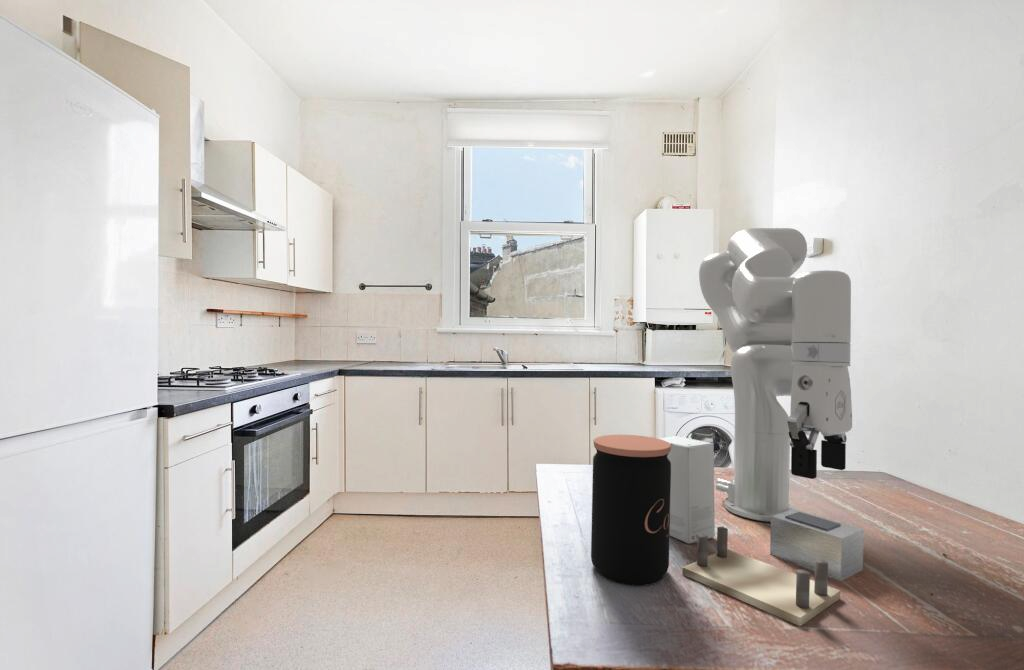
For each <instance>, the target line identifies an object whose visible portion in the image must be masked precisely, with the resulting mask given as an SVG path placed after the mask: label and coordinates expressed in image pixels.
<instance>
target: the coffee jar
mask: <svg viewBox="0 0 1024 670" xmlns="http://www.w3.org/2000/svg"><path fill="white" fill-rule="evenodd" d="M593 448H594V449H595V451H596V453H595V454H594V455H593V458H592V485H591V486H592V490H591V491H592V493H591V499H592V500H591V532H590V533H591V538H590V558H591V562H592V565H593V566H594V567H595V571H597V572H598V574H599V575H600V576H601V577H603V578H604V579H606V580H608V581H611V582H613V583H617V584H621V585H626V586H637V587H638V586H639V587H642V586H651V585H653V584H654V585H655V584H657V583H659V582H660V581H662V580H663V578H664V576H665V575H667V573H668V570H669V567H670V538H671V536H670V491H671V462H670V461H669V459H668V458H667V455H668V454H669V453H670V451H671V444H670V443H669V442H666V441H664V440H661V439H659V438H657V437H652V436H646V435H645V436H644V435H636V434H608V435H602V436H601V435H600V436H597V437H595V438H594V439H593Z"/></svg>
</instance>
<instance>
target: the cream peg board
mask: <svg viewBox="0 0 1024 670" xmlns="http://www.w3.org/2000/svg"><path fill="white" fill-rule="evenodd" d="M716 530H717V531H716V533H717V534H716V552H715V553H713V554H710V555H709V539H708V536H707V535H704V534H699V535H697V542H696V543H697V545H696V546H697V548H696V549H697V550H696V561H694V562H691V563H690V564H687V565H684V566H683V567H682V569H681V570H682V575H683V576H685V577H687V578H689V579H692V580H694V581H696V582H699V583H701V584H704V586H708V587H711V588H712V589H714V590H716V591H719V592H722V593H724V594H725V595H728V596H730V597H733V598H734V599H737V600H740V601H742V602H744V603H746V604H749V605H750V606H753V607H755V608H757V609H760V610H762V611H764V612H767V613H769V614H771V615H773V616H775V617H778V618H781V619H782V620H785V621H787V622H788V623H791V624H794V625H796V626H799V627H801V626H803V625H804V624H806V623H807V622H809V621H811V620H812V619H813V618H815V617H816V616H817V615H819V614H820V613H821V612H823V611H824V610H826V609H827V608H829V607H830V606H832V605H833V604H834V603H836V602H837V601H839V600H840V599H841V590H840V589H837V588H834V587H832V586H829V585H828V580H829V579H828V578H829V576H828V562H826V561H824V560H819V559H817V560H815V571H814V580H813V579H811V573H810V572H809V571H807V570H806V569H805V570H804V569H797V570H796V571H795V572H796V573H793V572H791V571H788V570H786V569H783V568H780V567H778V566H774V565H772V564H769V563H766V562H764V561H761V560H758V559H755V558H752V557H750V556H747V555H744V554H742V553H740V552H737V551H733V550H730V549H729V548H728V539H729V538H728V533H729V532H728V531H729V530H728V528H727V527H724V526H717V529H716Z"/></svg>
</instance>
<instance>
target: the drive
mask: <svg viewBox="0 0 1024 670" xmlns="http://www.w3.org/2000/svg"><path fill="white" fill-rule="evenodd" d="M796 509H797V508H796ZM796 509H792V510H789V511H785V512H782V513H779V514H776V515H773V516H771V522H770V536H769V537H770V545H769V555H771V556H773V557H777V558H779V559H781V560H784V561H787V562H789V563H792V564H794V565H797V566H800V567H802V568H804V569H808V570H810V571H813V572H815V560H817V559H819V560H824V561H826V562H828V578H832V579H833V580H837V581H840V582H842V581H843V580H845V579H848V578H849V577H852V576H855V574H857V573H859V572H862V571H863V570H864V532H865V531H864V530H865V529H864V528H861V527H858V526H854V525H850V524H847V523H843V522H840V521H837V520H833V519H830V518H826V517H823V516H820V515H816V514H814V513H813V514H812V513H809V512H805V511H802V510H799V509H797V510H796Z"/></svg>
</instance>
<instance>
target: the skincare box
mask: <svg viewBox="0 0 1024 670" xmlns="http://www.w3.org/2000/svg"><path fill="white" fill-rule="evenodd" d="M658 439H661V440H664V441H666V442H669V443H670V444H671V451H670V453H669V454H668V455H667V458H668V459H669V461H670V462H671V491H670V537H672V538H675V539H677V540H679V541H681V542H684V543H686V544H694V543H697V535H699V534H704V535H707V536H708V540H709V539H710V540H711V539H712V538H714V537H715V535H716V533H715V530H716V529H715V528H716V527H715V524H716V523H715V522H716V521H715V459H714V458H715V452H714V450H715V447H714V446H715V444H714V443H713V442H708V441H704V440H703V441H702V440H700V439H699V440H698V439H694V438H690V437H685V436H679V435H673V436H666V437H660V438H658Z"/></svg>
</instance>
